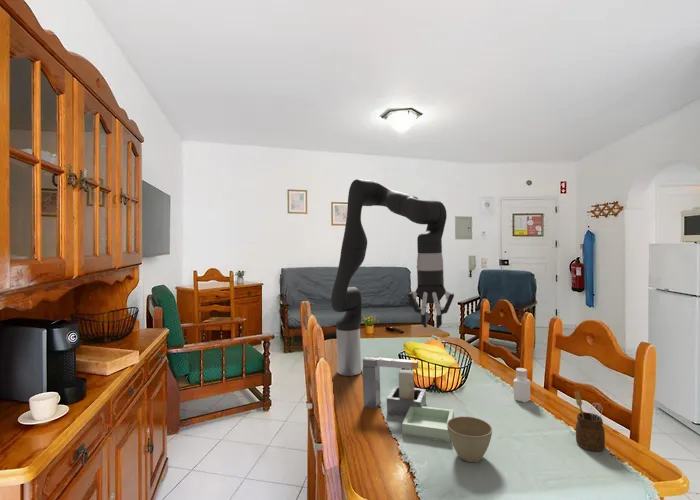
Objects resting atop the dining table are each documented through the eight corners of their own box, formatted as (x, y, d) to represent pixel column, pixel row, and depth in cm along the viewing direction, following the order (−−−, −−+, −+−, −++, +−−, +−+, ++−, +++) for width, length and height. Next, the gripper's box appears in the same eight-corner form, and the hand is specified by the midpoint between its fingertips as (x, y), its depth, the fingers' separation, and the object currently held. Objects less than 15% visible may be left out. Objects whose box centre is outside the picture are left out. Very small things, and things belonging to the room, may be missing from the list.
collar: (394, 400, 121) (394, 386, 121) (426, 403, 118) (425, 389, 118) (387, 413, 112) (386, 398, 112) (420, 417, 108) (420, 402, 108)
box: (414, 412, 112) (413, 375, 111) (399, 412, 113) (398, 374, 112) (414, 405, 117) (413, 369, 117) (400, 404, 118) (399, 369, 117)
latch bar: (366, 363, 120) (365, 356, 120) (418, 367, 114) (418, 360, 114) (363, 365, 118) (363, 358, 118) (416, 369, 112) (416, 362, 112)
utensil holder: (594, 454, 87) (593, 403, 87) (569, 442, 93) (568, 393, 93) (610, 448, 90) (610, 398, 90) (585, 436, 96) (584, 389, 95)
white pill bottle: (530, 399, 119) (530, 369, 118) (526, 403, 116) (525, 372, 115) (517, 396, 121) (517, 366, 121) (513, 400, 118) (512, 369, 118)
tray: (411, 415, 110) (410, 404, 110) (453, 420, 106) (453, 409, 106) (402, 435, 99) (402, 423, 99) (449, 442, 95) (449, 430, 95)
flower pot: (487, 473, 82) (486, 440, 81) (442, 461, 87) (441, 430, 87) (496, 451, 90) (496, 421, 90) (455, 441, 95) (454, 412, 95)
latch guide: (368, 400, 121) (367, 355, 121) (380, 401, 120) (379, 356, 120) (363, 406, 117) (362, 359, 116) (376, 408, 115) (374, 361, 115)
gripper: (455, 267, 112) (457, 325, 113) (408, 267, 117) (410, 323, 117) (453, 269, 105) (455, 331, 106) (403, 269, 110) (405, 328, 110)
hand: (431, 326), depth 112 cm, fingers open, 3 cm apart
